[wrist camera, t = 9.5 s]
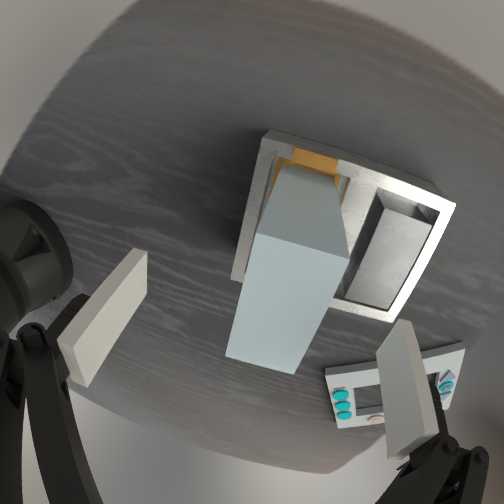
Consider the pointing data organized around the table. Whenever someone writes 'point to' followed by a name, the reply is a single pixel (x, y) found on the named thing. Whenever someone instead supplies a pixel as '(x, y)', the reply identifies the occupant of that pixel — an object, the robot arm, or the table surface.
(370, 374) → the electronic device
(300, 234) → the block
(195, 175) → the table surface
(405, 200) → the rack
